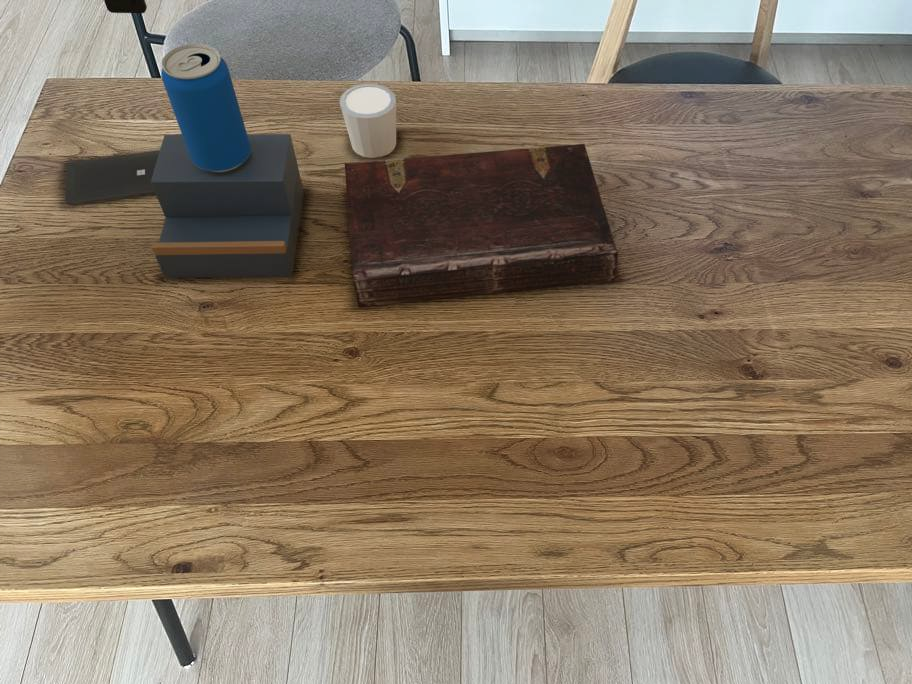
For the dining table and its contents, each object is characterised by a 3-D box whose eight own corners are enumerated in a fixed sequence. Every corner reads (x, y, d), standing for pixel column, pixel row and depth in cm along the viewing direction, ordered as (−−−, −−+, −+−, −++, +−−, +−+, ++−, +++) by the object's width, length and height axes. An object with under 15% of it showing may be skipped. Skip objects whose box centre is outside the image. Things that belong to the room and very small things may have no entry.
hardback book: (359, 310, 96) (352, 279, 92) (350, 195, 106) (344, 163, 102) (613, 284, 100) (618, 253, 96) (581, 176, 110) (584, 143, 106)
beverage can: (264, 157, 96) (238, 60, 86) (215, 185, 93) (182, 88, 84) (228, 130, 99) (198, 33, 89) (180, 157, 96) (143, 59, 86)
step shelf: (166, 280, 97) (139, 221, 90) (187, 195, 105) (164, 134, 98) (293, 278, 98) (276, 219, 91) (304, 194, 106) (290, 133, 99)
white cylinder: (339, 137, 113) (331, 90, 107) (389, 124, 115) (383, 77, 109) (358, 169, 109) (350, 123, 103) (409, 155, 111) (404, 108, 105)
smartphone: (197, 190, 106) (195, 185, 105) (66, 208, 103) (63, 203, 102) (195, 150, 110) (193, 145, 109) (68, 167, 107) (66, 161, 106)
